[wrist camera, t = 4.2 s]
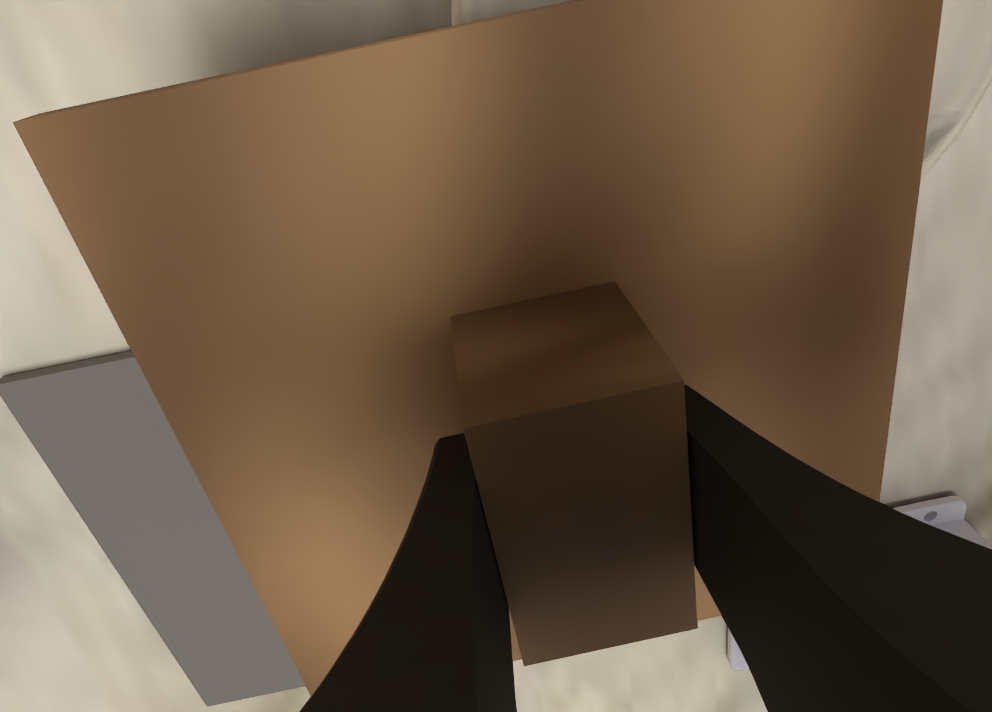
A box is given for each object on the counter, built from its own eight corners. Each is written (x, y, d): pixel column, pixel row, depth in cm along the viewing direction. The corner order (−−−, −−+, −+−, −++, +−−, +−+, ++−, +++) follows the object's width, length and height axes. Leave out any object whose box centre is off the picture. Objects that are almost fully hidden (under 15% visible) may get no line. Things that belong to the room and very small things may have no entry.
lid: (917, -74, 10) (1197, -110, 7) (850, 559, 17) (971, 717, 14) (39, 113, 10) (-173, 181, 7) (319, 675, 17) (292, 865, 13)
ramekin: (587, 289, 21) (637, 380, 16) (342, -58, 16) (313, -69, 11) (931, 58, 18) (1103, 88, 14) (776, -442, 13) (968, -658, 9)
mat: (532, 269, 20) (535, 275, 20) (585, 617, 28) (588, 627, 28) (3, 376, 20) (-7, 385, 19) (210, 694, 28) (207, 706, 28)
